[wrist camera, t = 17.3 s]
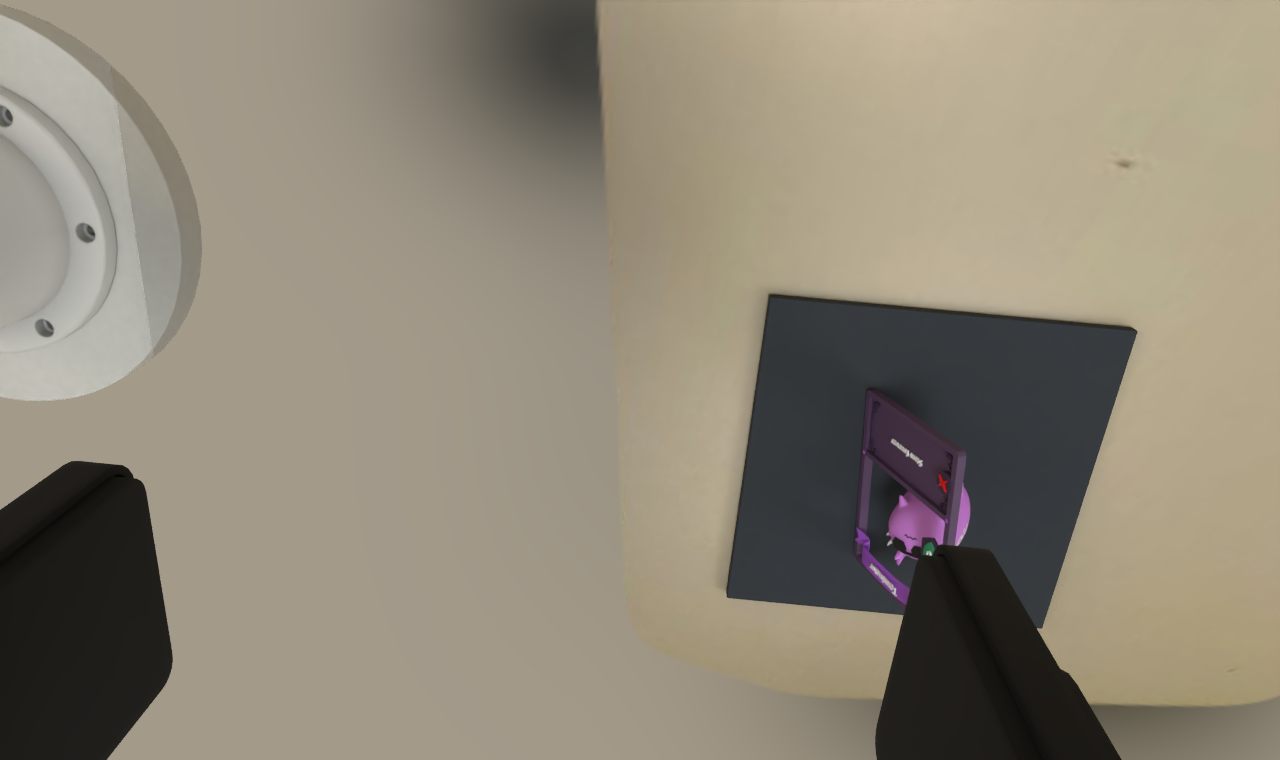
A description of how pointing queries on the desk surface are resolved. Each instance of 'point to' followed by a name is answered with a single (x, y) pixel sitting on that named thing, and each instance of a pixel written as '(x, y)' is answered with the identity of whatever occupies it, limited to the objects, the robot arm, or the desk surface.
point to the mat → (945, 400)
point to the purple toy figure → (910, 488)
